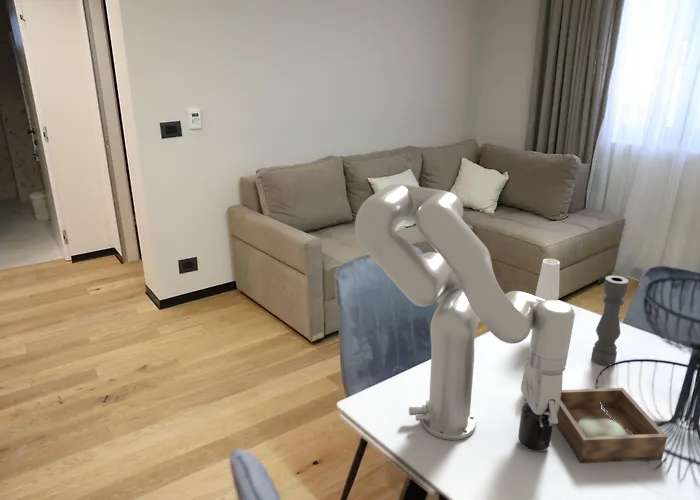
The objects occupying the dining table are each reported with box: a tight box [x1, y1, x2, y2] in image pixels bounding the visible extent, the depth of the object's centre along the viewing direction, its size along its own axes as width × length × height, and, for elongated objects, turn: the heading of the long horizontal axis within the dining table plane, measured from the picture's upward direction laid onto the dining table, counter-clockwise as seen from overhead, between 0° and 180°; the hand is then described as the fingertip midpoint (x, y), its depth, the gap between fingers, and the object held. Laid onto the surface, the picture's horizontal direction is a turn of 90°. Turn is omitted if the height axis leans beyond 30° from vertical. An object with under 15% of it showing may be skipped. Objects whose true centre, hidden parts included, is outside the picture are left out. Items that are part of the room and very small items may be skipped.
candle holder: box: [590, 275, 629, 367], centre depth 151 cm, size 6×6×25 cm
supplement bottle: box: [517, 401, 554, 452], centre depth 120 cm, size 7×7×12 cm
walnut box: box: [555, 387, 668, 464], centre depth 125 cm, size 18×18×6 cm
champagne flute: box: [530, 258, 561, 334], centre depth 167 cm, size 7×7×24 cm
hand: (535, 427), depth 121 cm, fingers closed on supplement bottle, 6 cm apart
